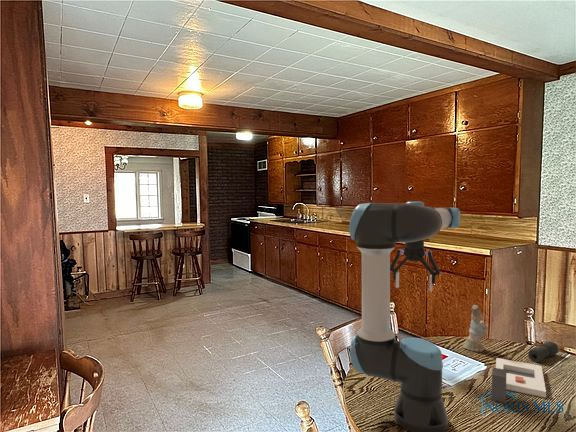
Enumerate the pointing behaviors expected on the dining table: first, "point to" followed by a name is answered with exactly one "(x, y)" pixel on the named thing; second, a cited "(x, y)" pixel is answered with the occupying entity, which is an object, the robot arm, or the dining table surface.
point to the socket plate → (523, 377)
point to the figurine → (476, 331)
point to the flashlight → (543, 351)
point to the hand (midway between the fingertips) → (413, 289)
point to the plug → (499, 385)
